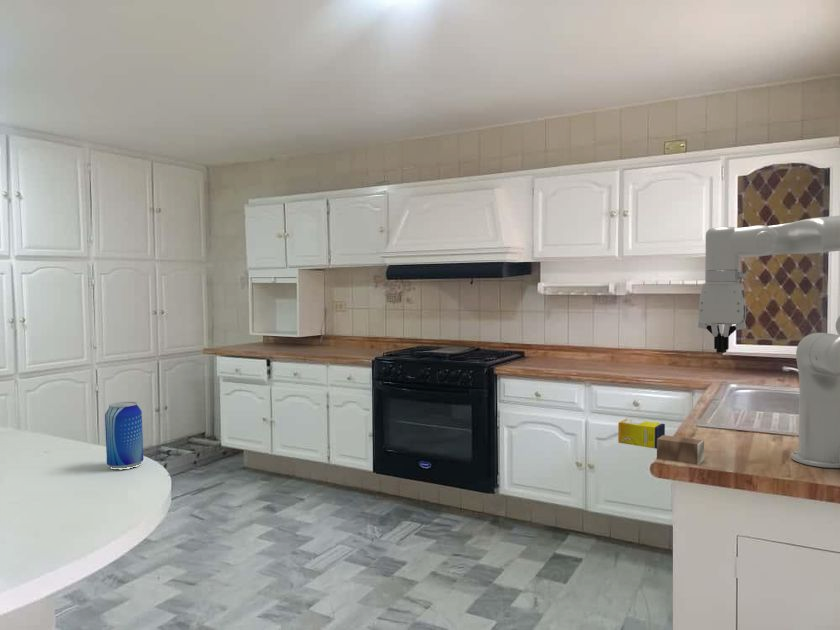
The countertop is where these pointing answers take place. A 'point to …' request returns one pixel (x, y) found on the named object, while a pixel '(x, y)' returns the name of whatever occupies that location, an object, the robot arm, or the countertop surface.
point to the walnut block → (680, 449)
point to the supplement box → (640, 432)
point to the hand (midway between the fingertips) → (721, 352)
